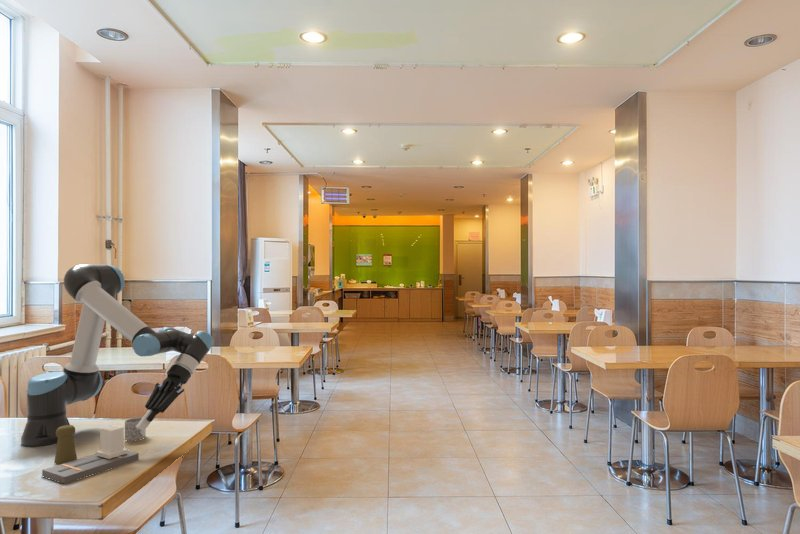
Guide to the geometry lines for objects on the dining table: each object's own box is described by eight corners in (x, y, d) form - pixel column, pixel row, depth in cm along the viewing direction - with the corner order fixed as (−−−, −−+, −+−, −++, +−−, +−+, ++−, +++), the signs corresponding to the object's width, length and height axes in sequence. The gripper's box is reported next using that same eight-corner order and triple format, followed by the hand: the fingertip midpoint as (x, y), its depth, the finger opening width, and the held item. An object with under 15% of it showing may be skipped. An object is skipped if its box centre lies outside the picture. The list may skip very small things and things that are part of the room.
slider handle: (114, 449, 166) (114, 424, 166) (127, 453, 162) (127, 426, 162) (95, 455, 160) (95, 428, 161) (108, 458, 157) (108, 431, 157)
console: (116, 453, 168) (116, 447, 169) (138, 459, 162) (138, 452, 163) (42, 476, 149) (42, 469, 149) (64, 484, 143) (64, 476, 143)
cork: (81, 458, 164) (81, 424, 165) (63, 465, 159) (63, 429, 159) (67, 456, 166) (67, 422, 167) (49, 463, 161) (49, 427, 161)
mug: (144, 440, 183) (144, 421, 183) (123, 442, 181) (123, 423, 181) (147, 432, 193) (147, 414, 193) (127, 434, 190) (127, 416, 190)
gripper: (201, 377, 182) (159, 437, 167) (176, 374, 189) (135, 432, 174) (188, 364, 178) (144, 425, 163) (163, 362, 184) (119, 421, 169)
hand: (139, 429), depth 168 cm, fingers closed
